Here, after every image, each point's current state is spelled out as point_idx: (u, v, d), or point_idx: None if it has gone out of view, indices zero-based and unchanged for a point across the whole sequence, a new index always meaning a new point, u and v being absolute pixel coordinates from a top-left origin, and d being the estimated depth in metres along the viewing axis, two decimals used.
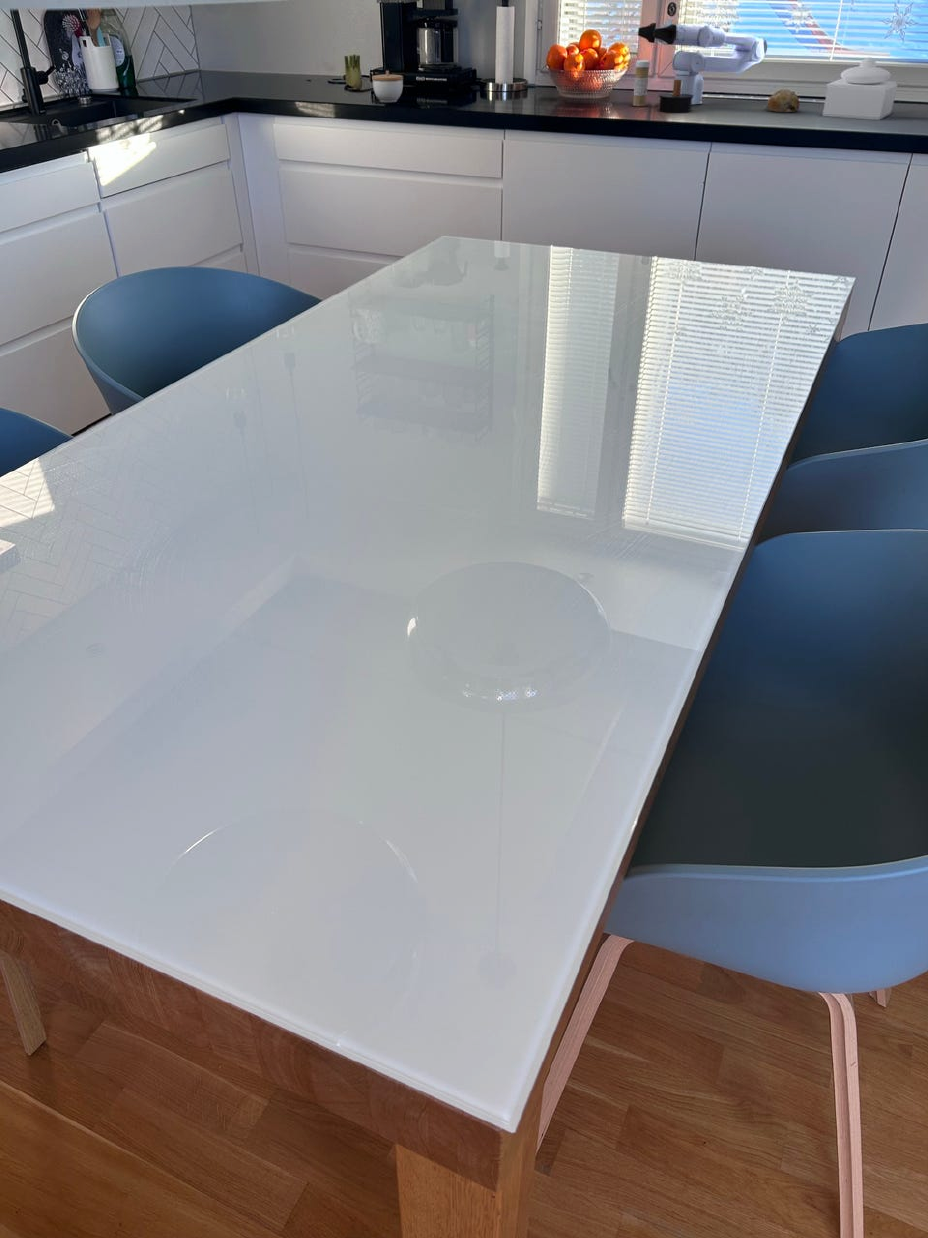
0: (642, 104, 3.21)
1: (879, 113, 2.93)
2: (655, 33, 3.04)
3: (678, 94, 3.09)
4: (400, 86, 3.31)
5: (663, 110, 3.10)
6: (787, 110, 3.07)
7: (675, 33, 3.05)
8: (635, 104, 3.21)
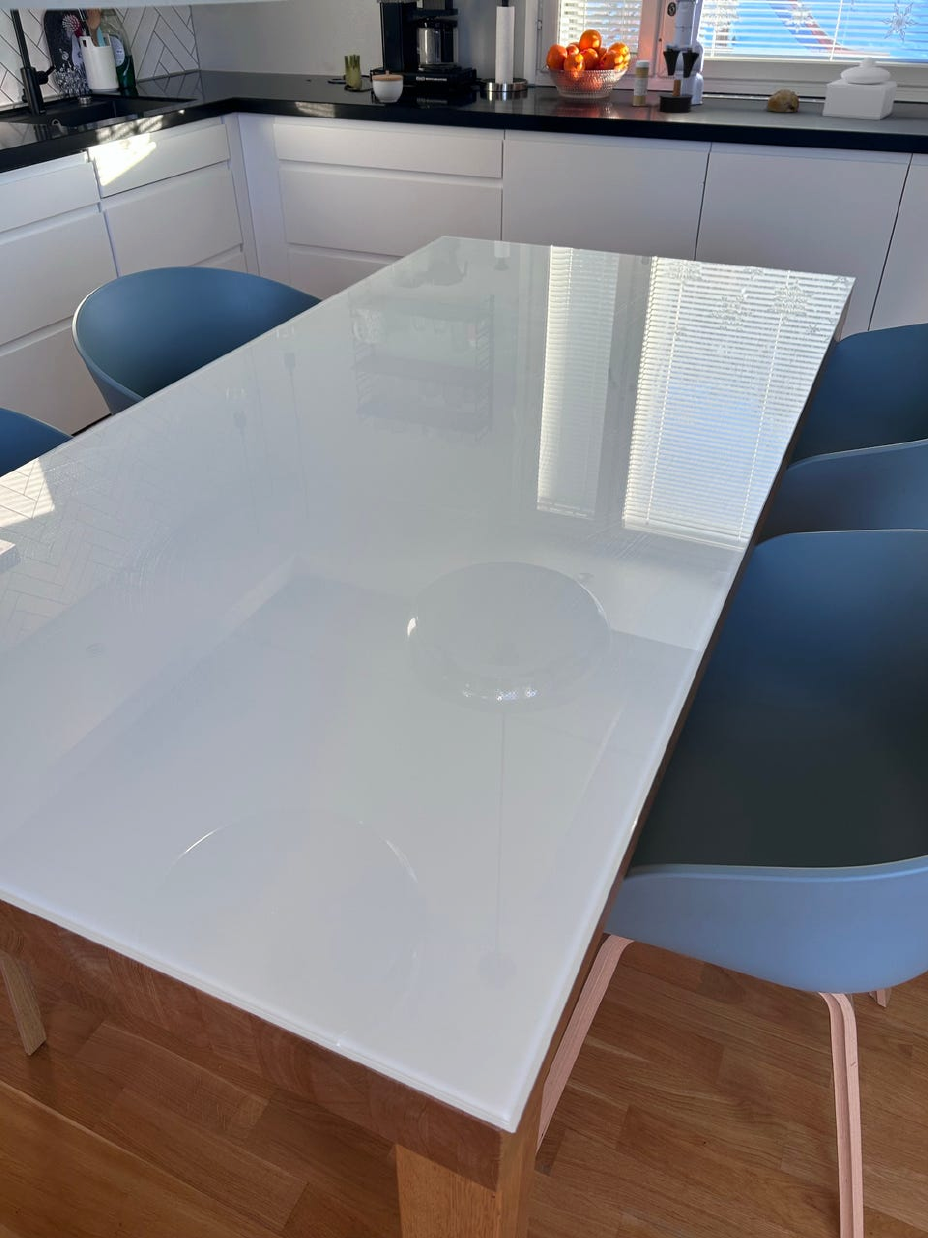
0: (642, 104, 3.21)
1: (879, 113, 2.93)
2: (687, 76, 3.04)
3: (678, 94, 3.09)
4: (400, 86, 3.31)
5: (663, 110, 3.10)
6: (787, 110, 3.07)
7: (693, 53, 2.99)
8: (635, 104, 3.21)
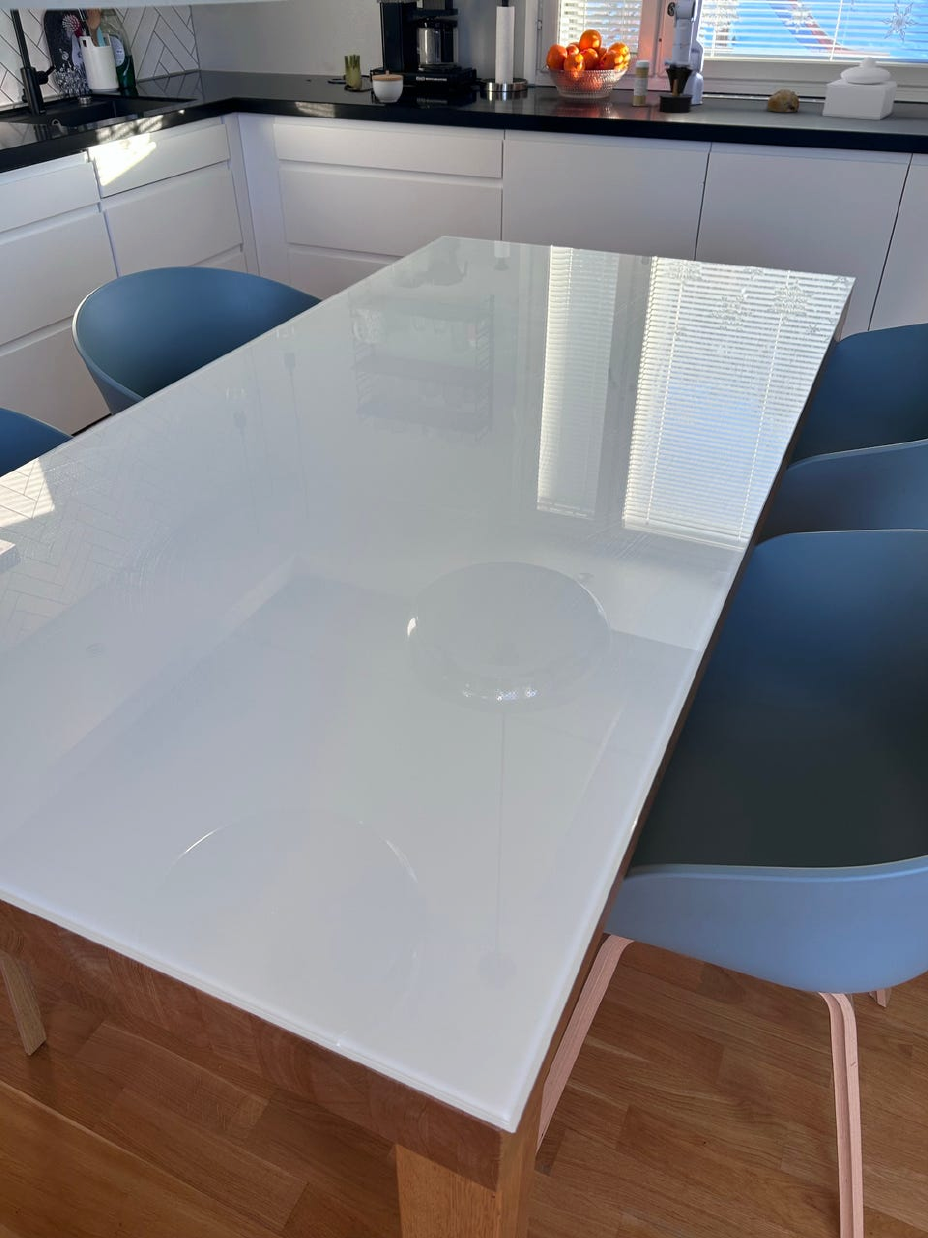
0: (642, 104, 3.21)
1: (879, 113, 2.93)
2: (681, 92, 3.08)
3: (678, 94, 3.09)
4: (400, 86, 3.31)
5: (663, 110, 3.10)
6: (787, 110, 3.07)
7: (686, 69, 3.03)
8: (635, 104, 3.21)
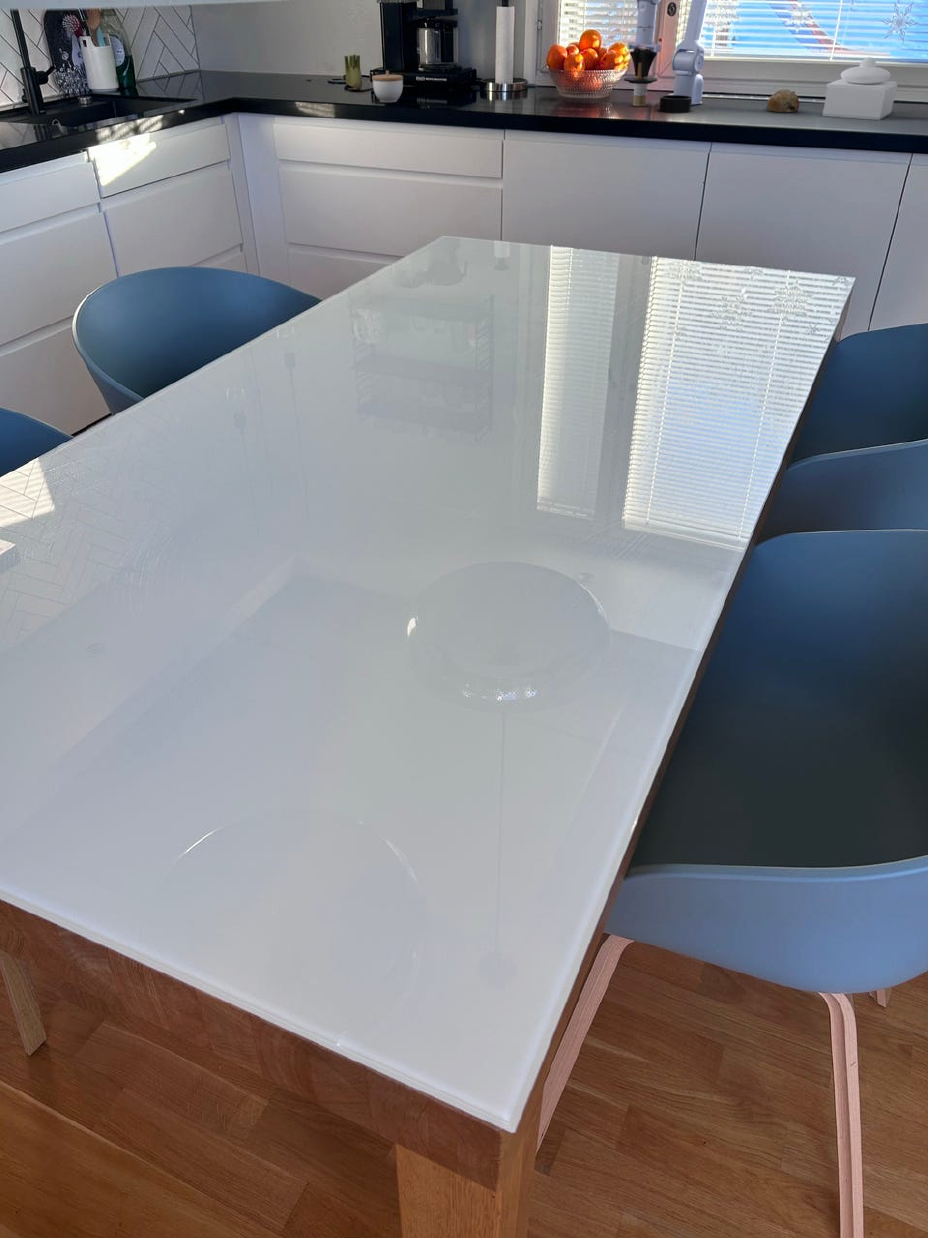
0: (642, 104, 3.21)
1: (879, 113, 2.93)
2: (645, 75, 3.06)
3: (643, 77, 3.07)
4: (400, 86, 3.31)
5: (663, 110, 3.10)
6: (787, 110, 3.07)
7: (650, 52, 3.01)
8: (635, 104, 3.21)
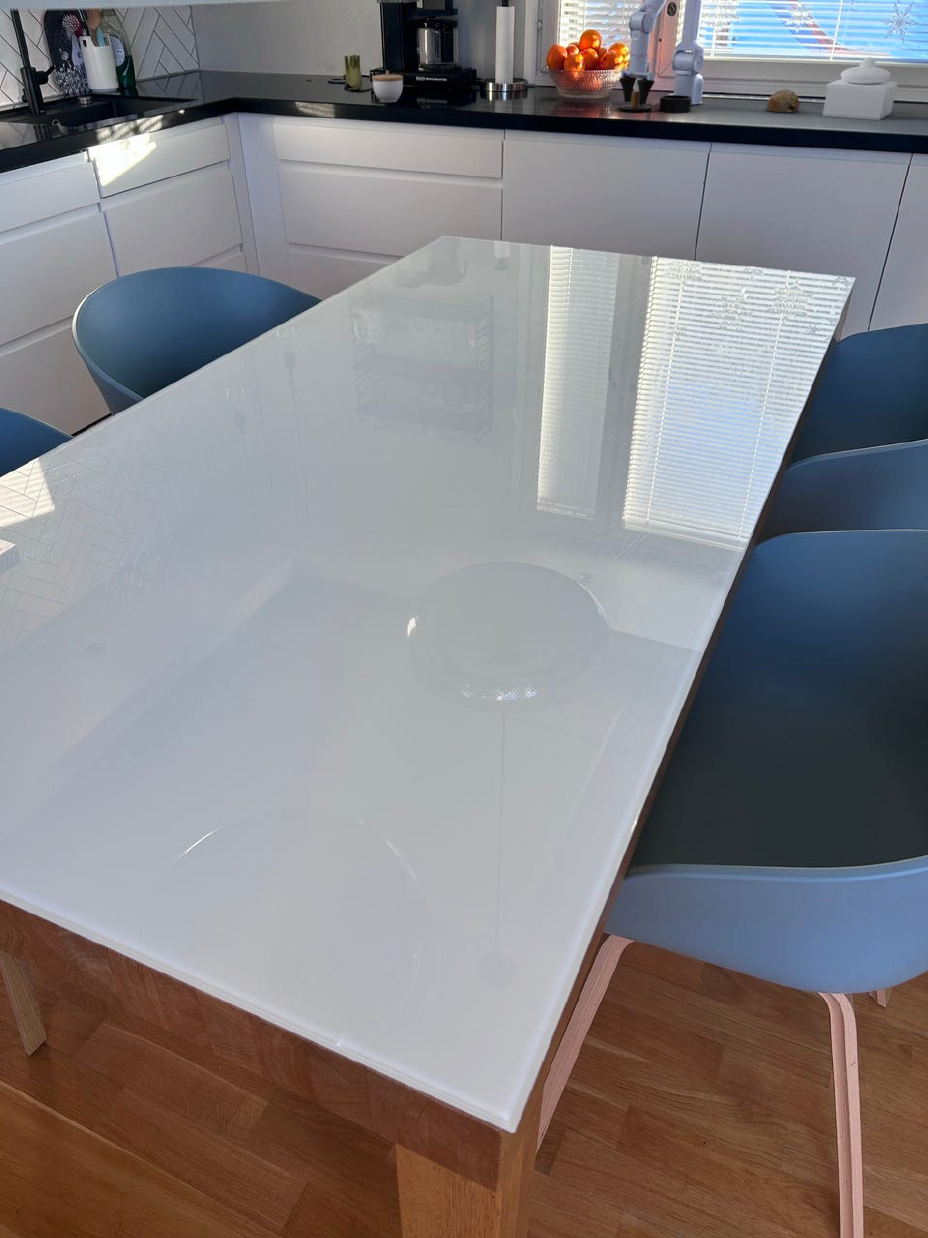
0: None
1: (879, 113, 2.93)
2: (643, 103, 3.09)
3: (636, 106, 3.12)
4: (400, 86, 3.31)
5: (663, 110, 3.10)
6: (787, 110, 3.07)
7: (648, 80, 3.04)
8: None
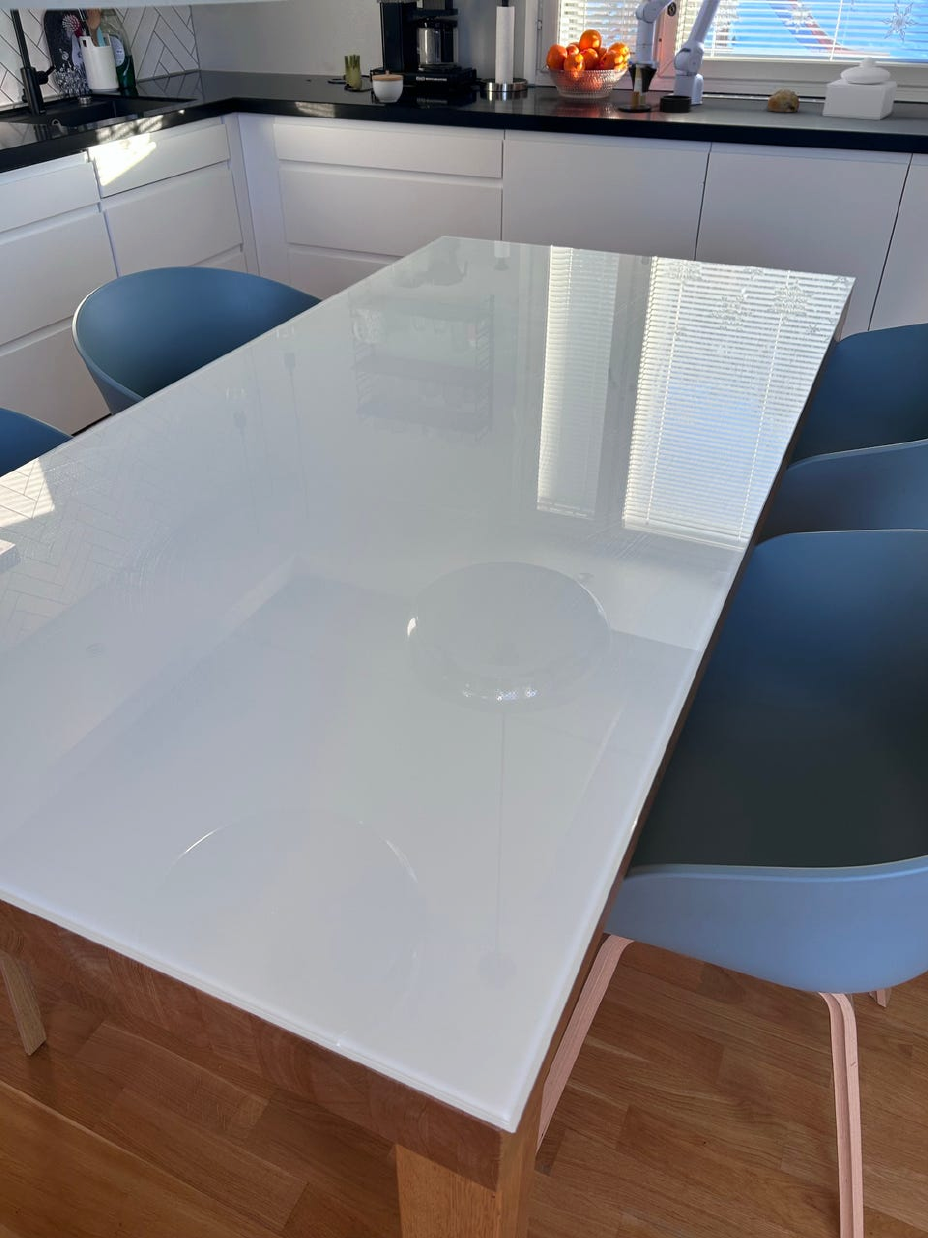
0: (642, 104, 3.21)
1: (879, 113, 2.93)
2: (646, 90, 3.18)
3: (636, 106, 3.12)
4: (400, 86, 3.31)
5: (663, 110, 3.10)
6: (787, 110, 3.07)
7: (651, 68, 3.13)
8: None
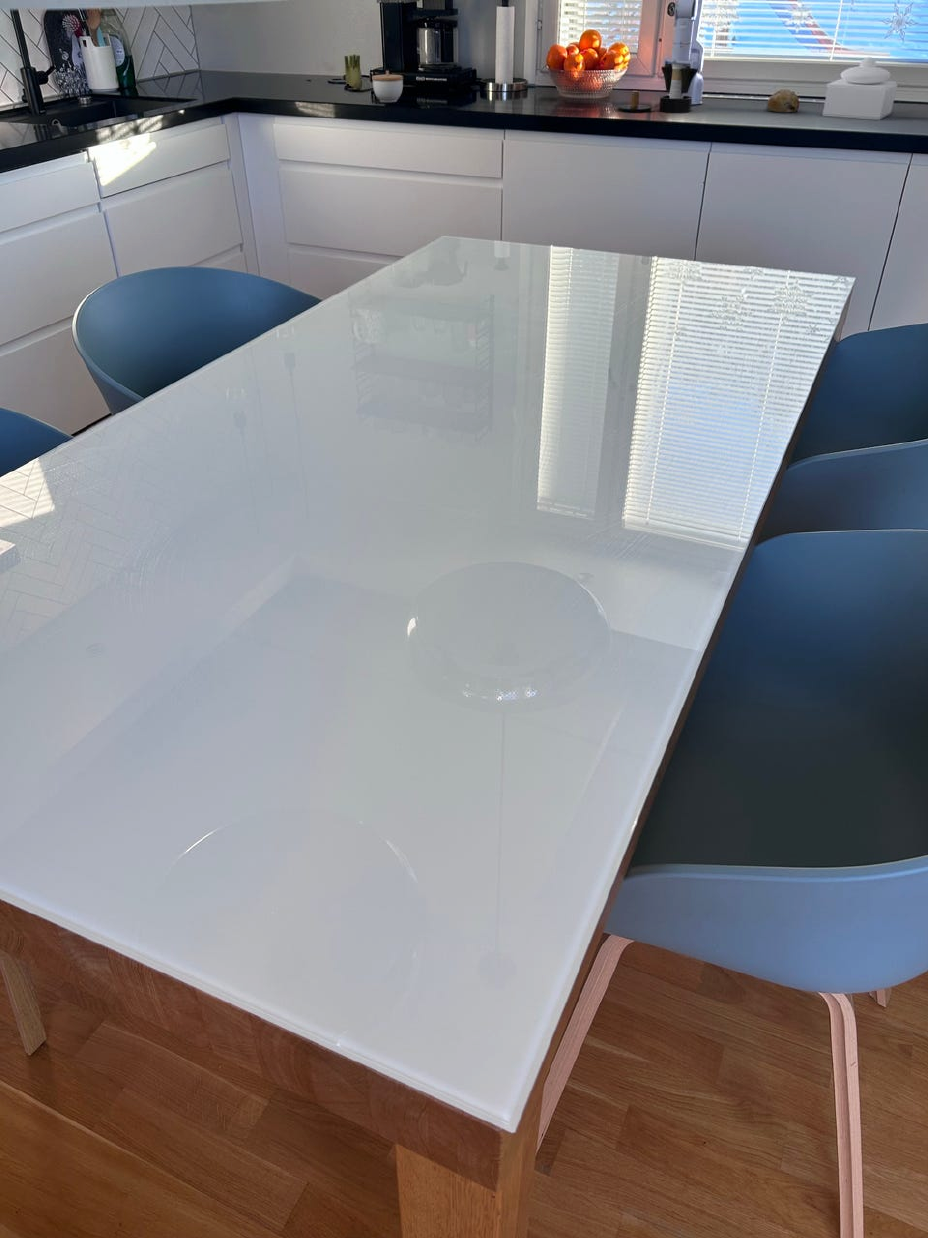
0: None
1: (879, 113, 2.93)
2: (685, 91, 3.07)
3: (636, 106, 3.12)
4: (400, 86, 3.31)
5: (663, 110, 3.10)
6: (787, 110, 3.07)
7: (691, 69, 3.01)
8: None
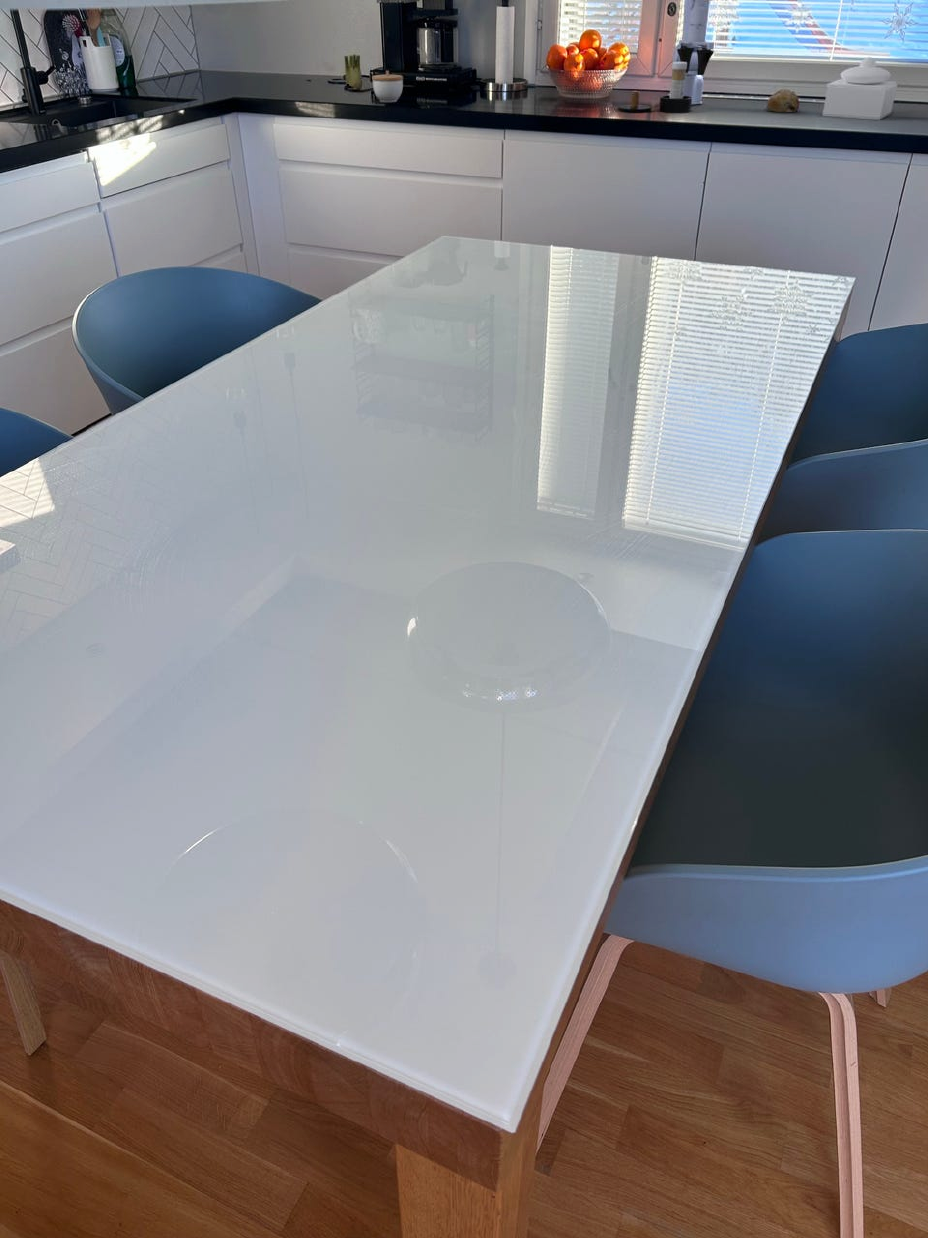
0: None
1: (879, 113, 2.93)
2: (701, 73, 3.05)
3: (636, 106, 3.12)
4: (400, 86, 3.31)
5: (663, 110, 3.10)
6: (787, 110, 3.07)
7: (708, 50, 3.00)
8: None
